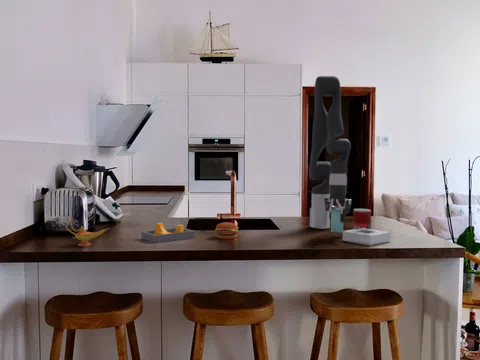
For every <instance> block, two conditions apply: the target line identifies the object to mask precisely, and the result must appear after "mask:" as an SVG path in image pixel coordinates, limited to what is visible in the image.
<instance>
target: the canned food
mask: <svg viewBox="0 0 480 360" xmlns="http://www.w3.org/2000/svg"><path fill="white" fill-rule="evenodd" d="M352 215H353V216H352V217H353V218H352V221H353V222H352V223H353V224H352V230H353V229H359V228H366V229H371V228H372V227H371V225H372V221H371V220H372V210H371V209H368V208H354V209H353V213H352Z"/></svg>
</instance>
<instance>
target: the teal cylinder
mask: <svg viewBox="0 0 480 360" xmlns="http://www.w3.org/2000/svg"><path fill="white" fill-rule="evenodd" d="M340 221H341V212H340V209H339V208H335V209H331V221H330V232H331V233H343V231H344V222H343V223H342V222H340Z"/></svg>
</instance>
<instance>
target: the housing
mask: <svg viewBox="0 0 480 360" xmlns="http://www.w3.org/2000/svg"><path fill="white" fill-rule="evenodd" d="M342 241H344V242H349V243H355V244H361V245H365V246H366V245H367V246H375V245H381V244H384V243H389V242H391V232H390V231H384V230H378V229H373V228H372V229H366V228H359V229H353V228H352V229H346V230H343V232H342Z"/></svg>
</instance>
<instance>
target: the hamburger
mask: <svg viewBox="0 0 480 360" xmlns="http://www.w3.org/2000/svg"><path fill="white" fill-rule="evenodd" d="M237 229H239V227H238V226H237V225H236V224H235V223H233V222H229V221H225V222H220V223H218V224H216V227H215V229H214V231H216V238H217V239H220V240H221V239H222V240H233V239H237V238H238V234H237V233H238V232H237V231H238V230H237Z"/></svg>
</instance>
